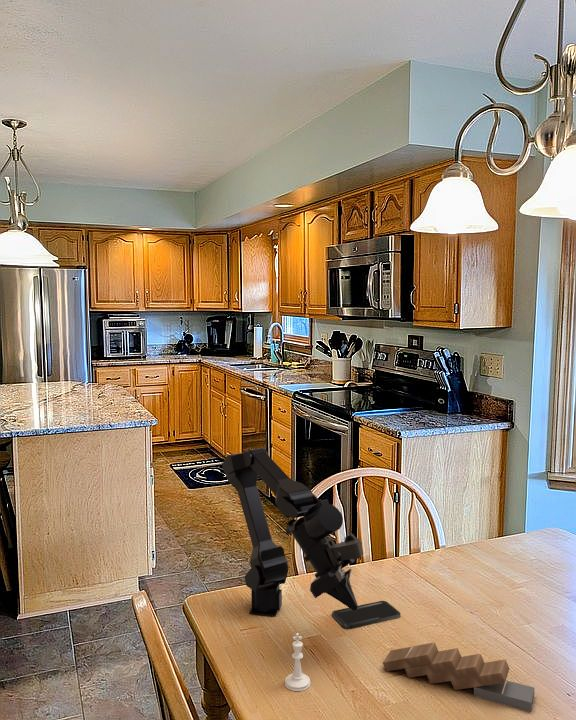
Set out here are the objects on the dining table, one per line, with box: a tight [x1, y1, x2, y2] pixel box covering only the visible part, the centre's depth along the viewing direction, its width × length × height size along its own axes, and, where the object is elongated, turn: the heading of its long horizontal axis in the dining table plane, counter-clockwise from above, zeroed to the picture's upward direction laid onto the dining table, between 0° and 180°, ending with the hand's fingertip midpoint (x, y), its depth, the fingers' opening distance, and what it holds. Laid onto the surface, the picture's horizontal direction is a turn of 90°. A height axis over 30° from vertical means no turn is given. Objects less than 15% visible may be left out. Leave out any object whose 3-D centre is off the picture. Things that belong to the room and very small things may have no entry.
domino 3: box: [426, 653, 485, 685], centre depth 119 cm, size 2×5×10 cm
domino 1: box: [382, 641, 439, 672], centre depth 123 cm, size 2×5×10 cm
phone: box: [331, 600, 401, 630], centre depth 145 cm, size 8×1×15 cm
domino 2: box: [404, 647, 462, 679], centre depth 121 cm, size 2×5×10 cm
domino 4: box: [450, 659, 510, 691], centre depth 117 cm, size 2×5×10 cm
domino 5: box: [473, 679, 535, 713], centre depth 115 cm, size 2×5×10 cm
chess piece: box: [284, 632, 311, 692], centre depth 119 cm, size 5×5×10 cm
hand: (356, 609), depth 129 cm, fingers closed
